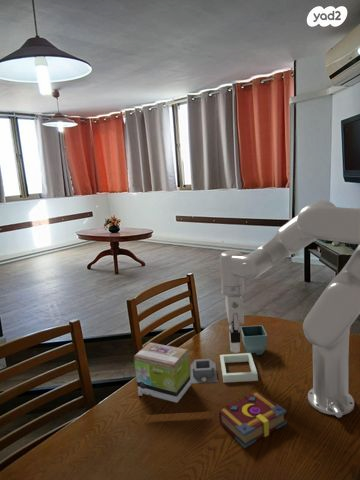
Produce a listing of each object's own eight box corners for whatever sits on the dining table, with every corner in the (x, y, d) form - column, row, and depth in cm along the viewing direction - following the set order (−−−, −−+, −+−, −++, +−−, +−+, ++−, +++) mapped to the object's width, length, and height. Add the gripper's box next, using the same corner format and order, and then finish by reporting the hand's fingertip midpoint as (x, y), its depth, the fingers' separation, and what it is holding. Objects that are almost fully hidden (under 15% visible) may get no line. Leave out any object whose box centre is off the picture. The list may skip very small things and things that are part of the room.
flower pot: (268, 357, 131) (267, 335, 129) (244, 359, 131) (243, 336, 129) (263, 346, 139) (262, 324, 138) (241, 347, 140) (239, 326, 138)
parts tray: (258, 384, 115) (257, 373, 114) (223, 386, 116) (223, 375, 115) (251, 362, 128) (250, 352, 127) (220, 364, 129) (219, 354, 128)
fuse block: (217, 385, 116) (217, 373, 115) (190, 387, 117) (189, 375, 116) (215, 366, 128) (214, 354, 127) (190, 367, 128) (189, 356, 128)
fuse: (241, 352, 119) (240, 328, 117) (230, 353, 119) (229, 329, 117) (239, 347, 122) (238, 324, 120) (229, 347, 122) (228, 324, 120)
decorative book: (218, 424, 99) (217, 408, 98) (261, 401, 107) (260, 387, 106) (245, 449, 90) (244, 432, 89) (290, 423, 97) (289, 407, 96)
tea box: (137, 396, 114) (132, 355, 112) (153, 379, 123) (149, 340, 120) (178, 407, 107) (173, 363, 104) (192, 388, 116) (188, 347, 113)
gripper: (248, 296, 108) (249, 351, 111) (240, 279, 124) (242, 327, 128) (223, 298, 108) (226, 352, 112) (219, 280, 124) (221, 329, 128)
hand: (234, 338), depth 120 cm, fingers closed on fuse, 3 cm apart
